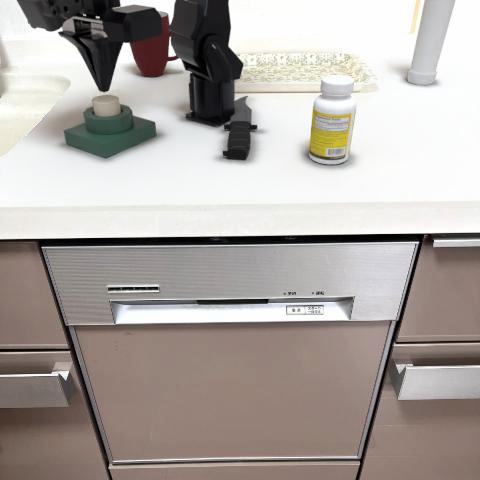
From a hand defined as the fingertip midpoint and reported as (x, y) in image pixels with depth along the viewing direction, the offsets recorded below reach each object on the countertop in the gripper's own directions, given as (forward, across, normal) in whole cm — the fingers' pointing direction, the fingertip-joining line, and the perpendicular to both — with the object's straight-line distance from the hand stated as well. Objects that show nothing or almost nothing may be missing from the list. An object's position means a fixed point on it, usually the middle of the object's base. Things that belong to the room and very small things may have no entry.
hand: (104, 91), depth 63 cm
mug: (+7, -17, +29) cm, 34 cm away
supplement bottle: (+7, +28, +13) cm, 32 cm away
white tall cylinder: (+7, +26, +55) cm, 61 cm away
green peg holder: (+7, 0, 0) cm, 7 cm away
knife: (+7, +12, +16) cm, 21 cm away
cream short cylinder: (+3, 0, 0) cm, 3 cm away
